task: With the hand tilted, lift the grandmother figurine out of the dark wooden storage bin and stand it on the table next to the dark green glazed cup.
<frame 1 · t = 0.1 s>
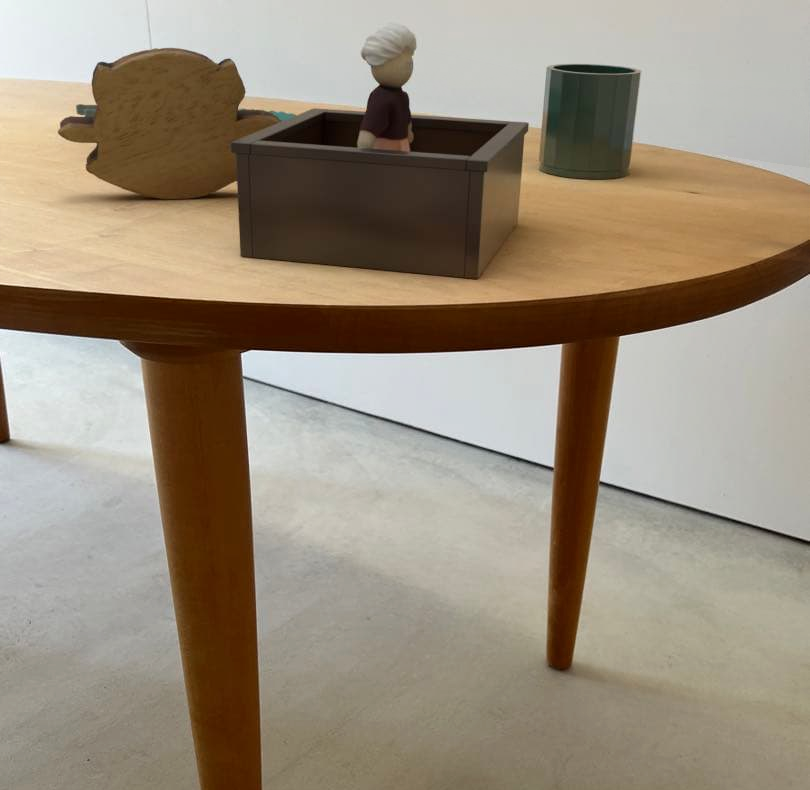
grandmother figurine: (388, 242, 72), resting in dark wooden storage bin
cup: (583, 170, 94), on the table
wooden carving: (182, 199, 81), on the table
cutlery set: (200, 143, 102), on the table
dark wooden storage bin: (388, 239, 72), on the table
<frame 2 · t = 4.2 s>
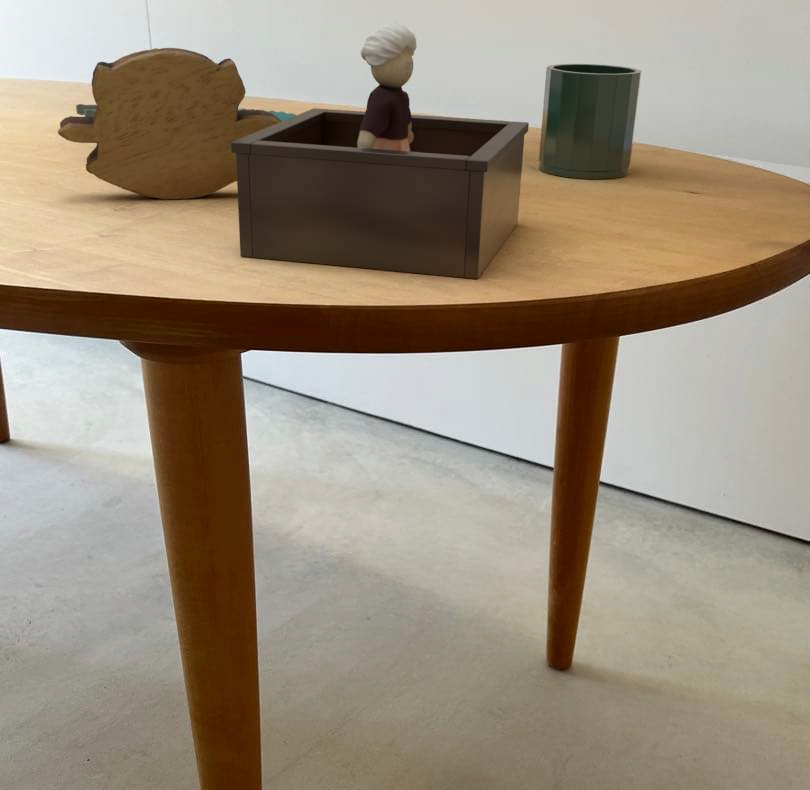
nothing on the table moved.
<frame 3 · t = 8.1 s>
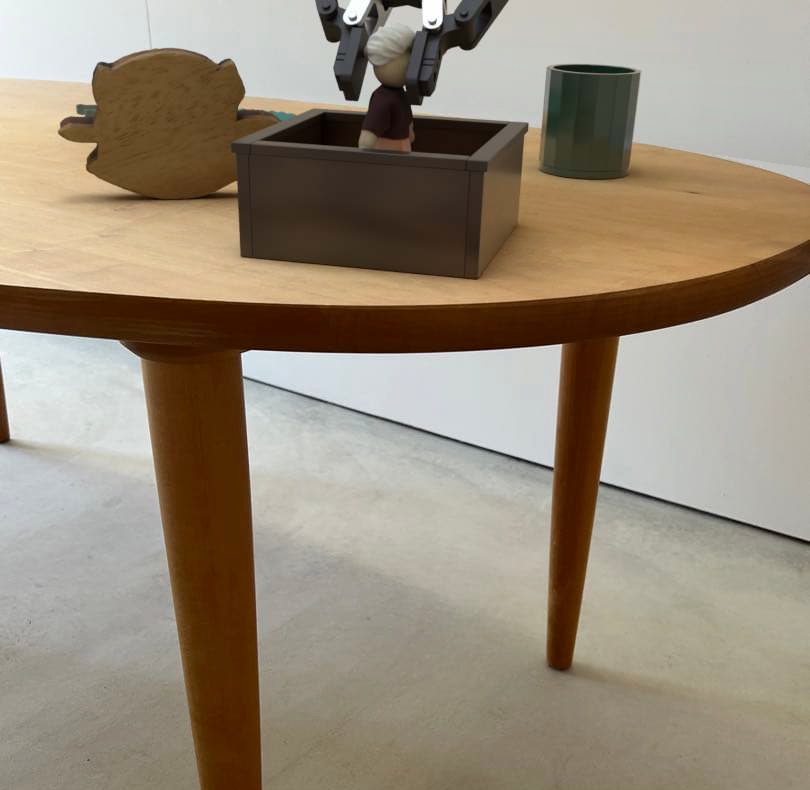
hand: (381, 93, 66), 9 cm above the table, tool tilted 45°, fingers closed on grandmother figurine, 3 cm apart
grandmother figurine: (387, 241, 72), resting in dark wooden storage bin, touching gripper
everything else where it was.
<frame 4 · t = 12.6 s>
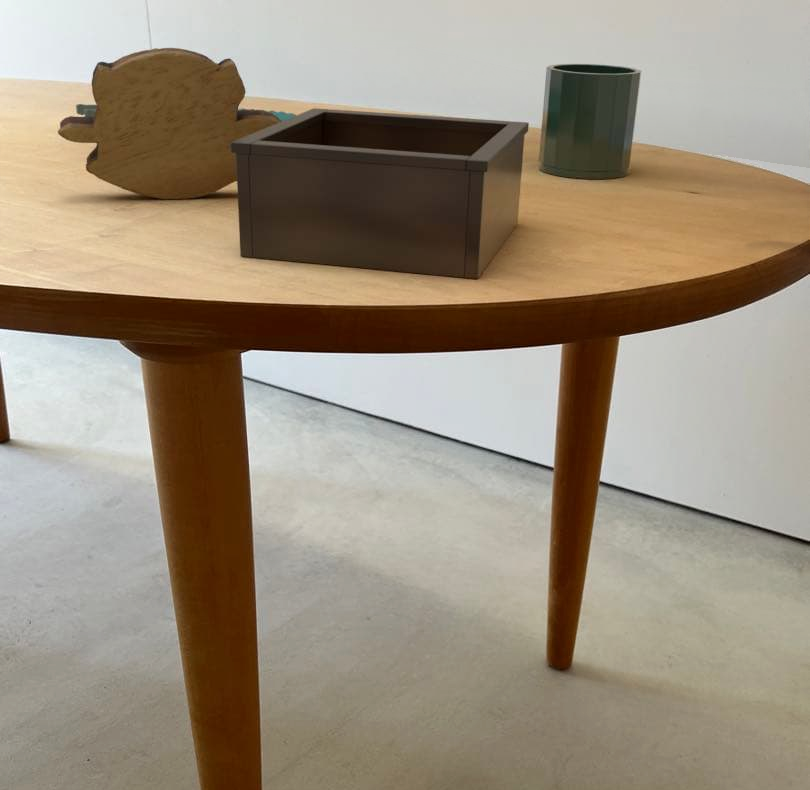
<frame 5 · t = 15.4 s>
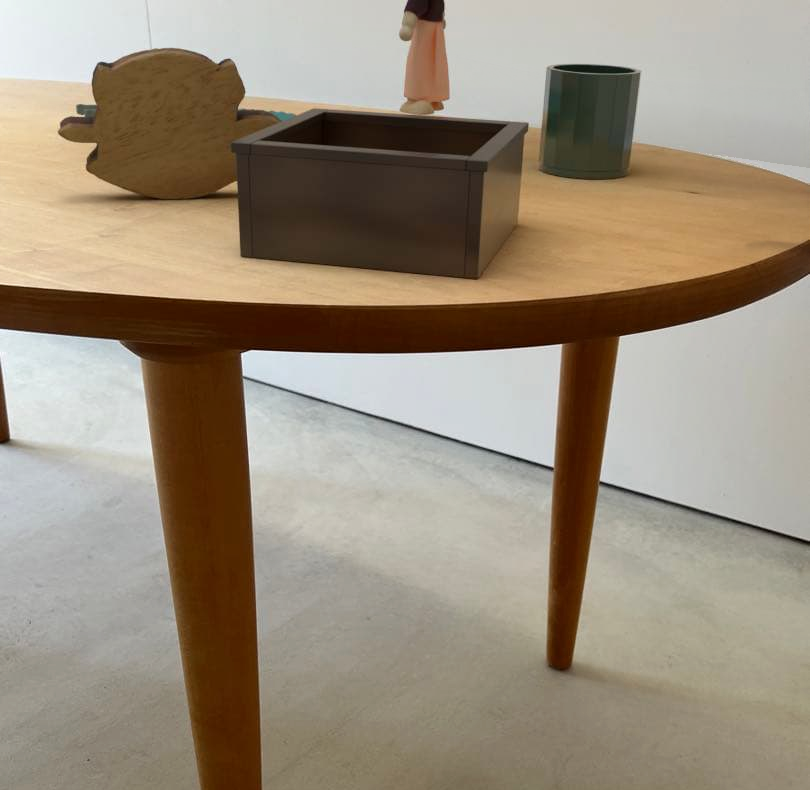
grandmother figurine: (424, 112, 86), point 5 cm above the table, touching gripper
everything else where it was.
when the fingers open (9 cm above the table, at t = 17.2 s): grandmother figurine stays where it is, on the table.
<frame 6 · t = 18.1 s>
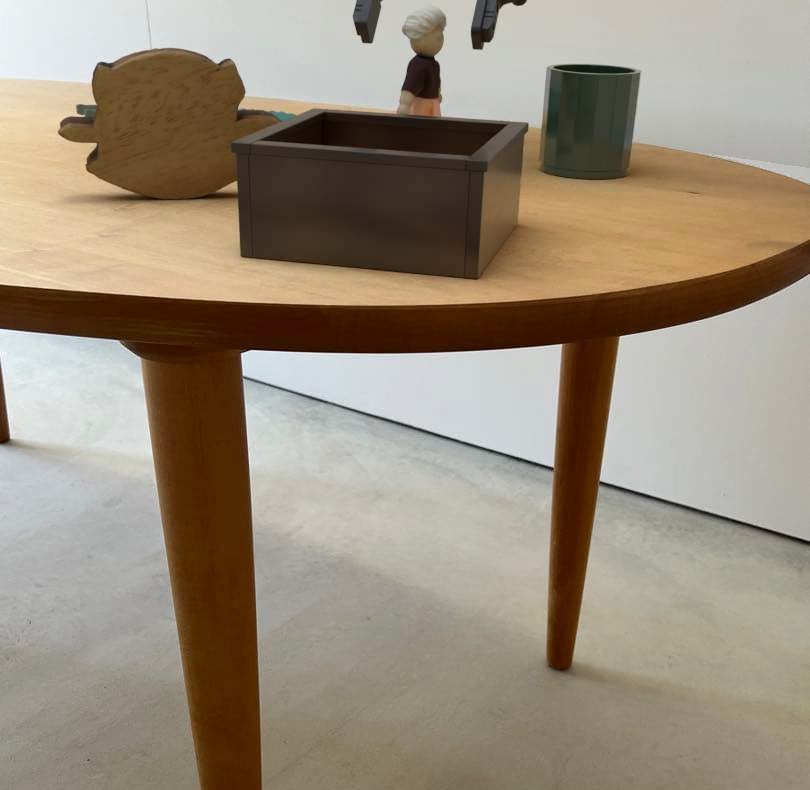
hand: (420, 38, 82), 10 cm above the table, tool tilted 45°, fingers open, 8 cm apart
grandmother figurine: (421, 183, 89), on the table
everything else where it was.
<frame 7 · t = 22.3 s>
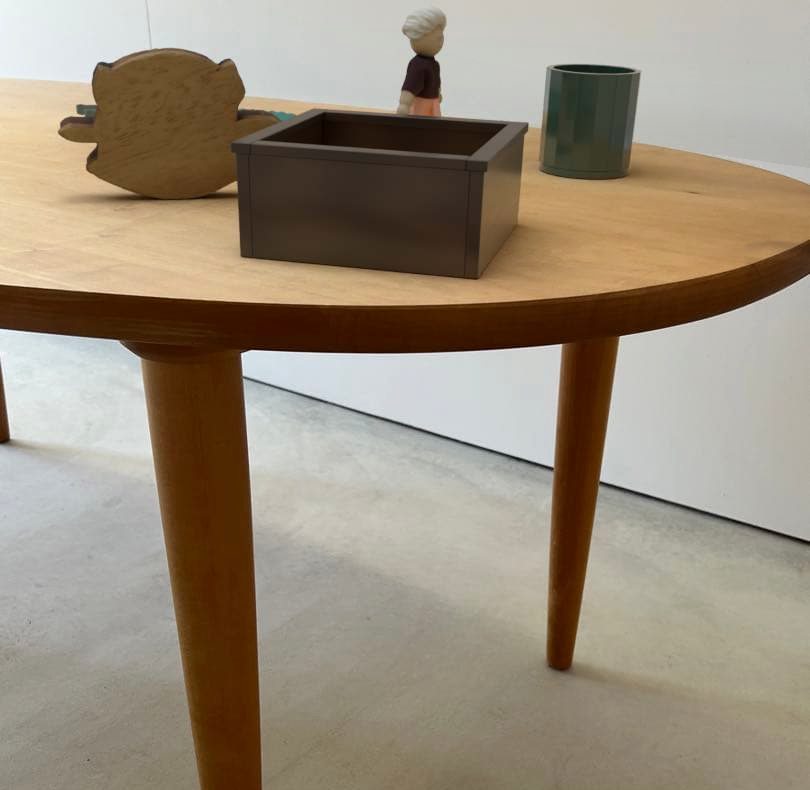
nothing on the table moved.
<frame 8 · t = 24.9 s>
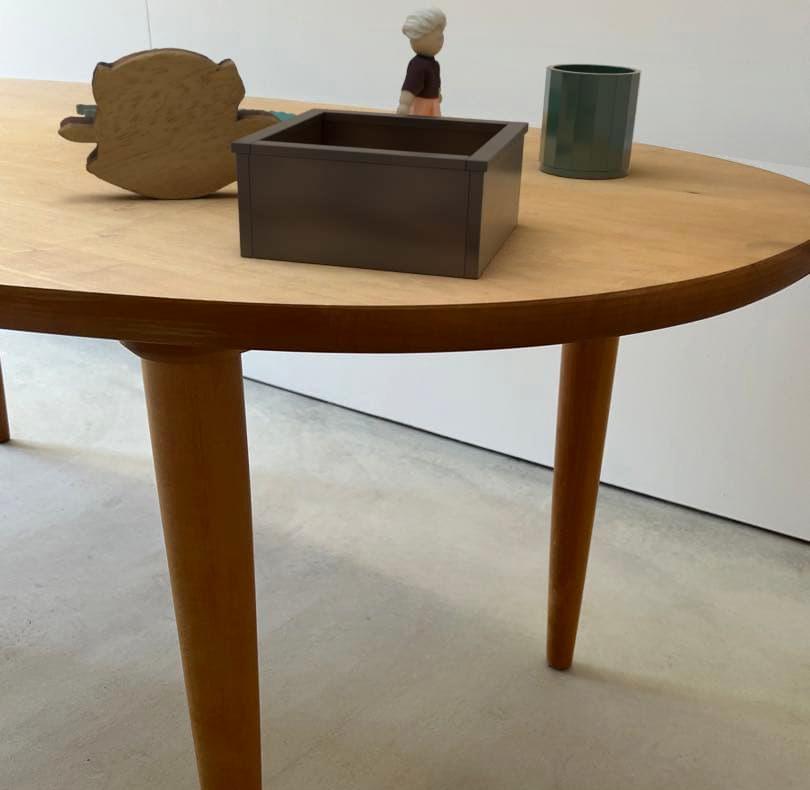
nothing on the table moved.
at the end: grandmother figurine inside the target area on the table beside the cup (0.2 cm from its centre), on the table; grandmother figurine tilted 0°; the gripper is holding nothing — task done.
